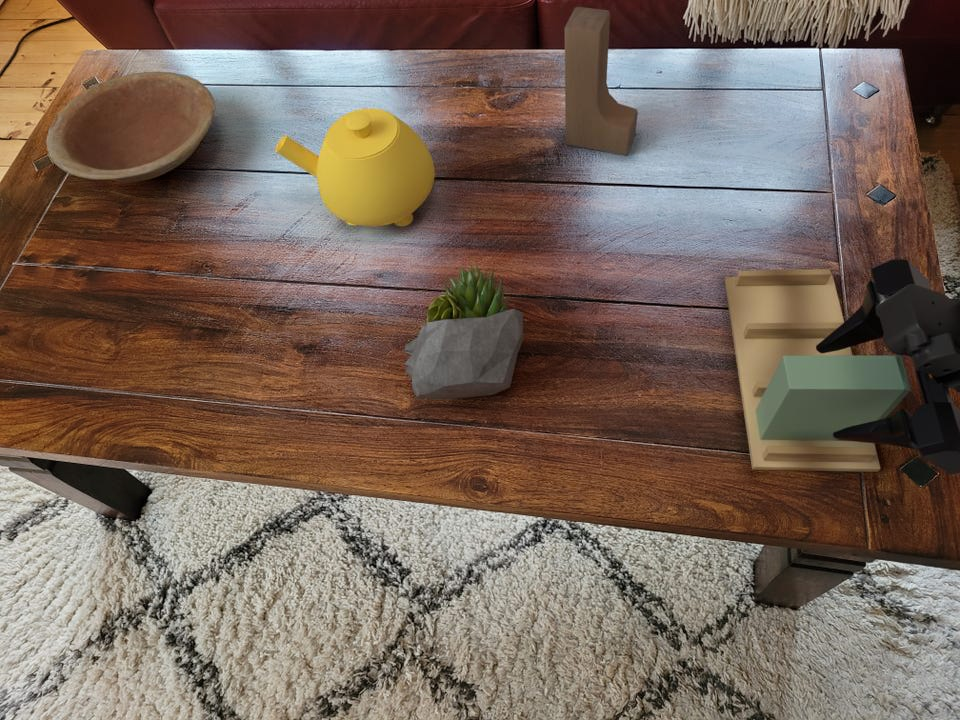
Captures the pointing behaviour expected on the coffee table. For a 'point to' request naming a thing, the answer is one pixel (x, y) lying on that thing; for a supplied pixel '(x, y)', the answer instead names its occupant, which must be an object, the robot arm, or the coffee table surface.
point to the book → (829, 395)
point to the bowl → (131, 127)
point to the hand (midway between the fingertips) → (826, 391)
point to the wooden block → (593, 87)
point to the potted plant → (466, 341)
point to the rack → (787, 332)
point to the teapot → (368, 168)
